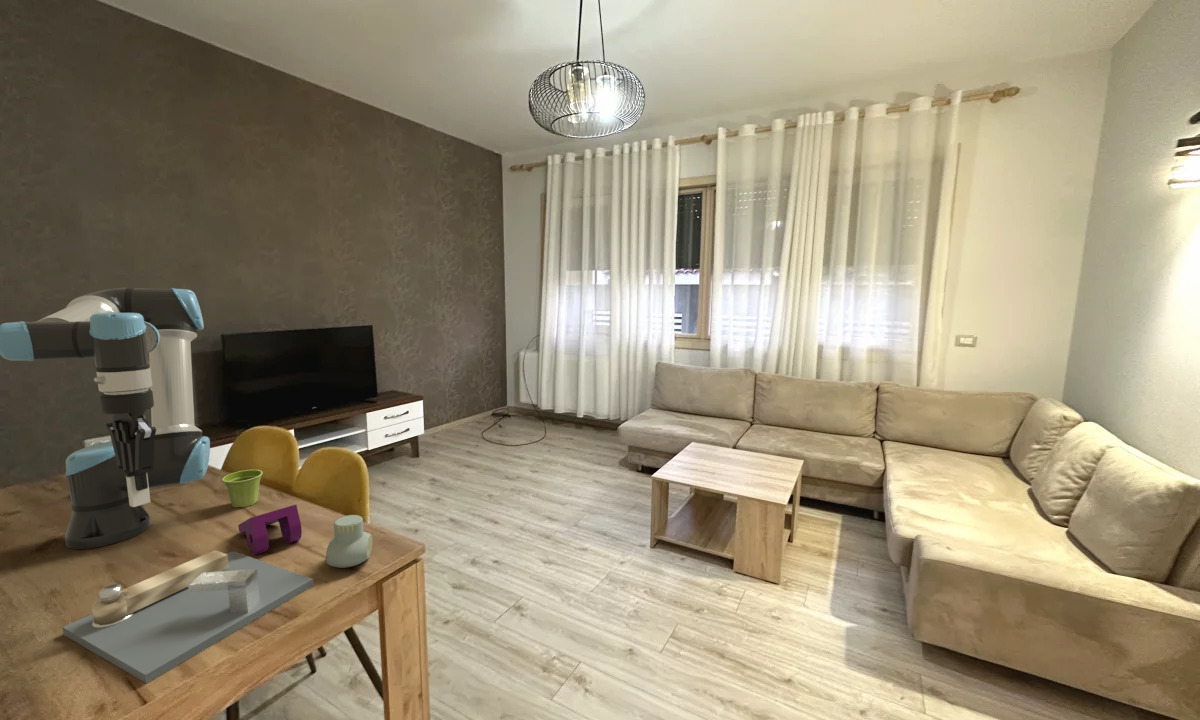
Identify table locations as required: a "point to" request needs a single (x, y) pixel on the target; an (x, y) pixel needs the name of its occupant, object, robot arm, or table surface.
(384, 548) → the table surface
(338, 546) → the air freshener
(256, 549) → the mounting bracket
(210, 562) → the brass bar
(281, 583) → the slate board
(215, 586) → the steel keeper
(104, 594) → the cylinder
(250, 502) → the plant pot
